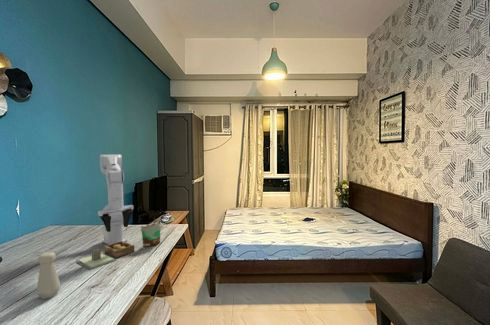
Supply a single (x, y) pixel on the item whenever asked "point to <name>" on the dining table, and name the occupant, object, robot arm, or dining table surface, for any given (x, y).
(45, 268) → the salt shaker
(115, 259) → the mat
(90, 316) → the dining table surface
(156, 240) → the food container
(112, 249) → the box
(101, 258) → the lid
